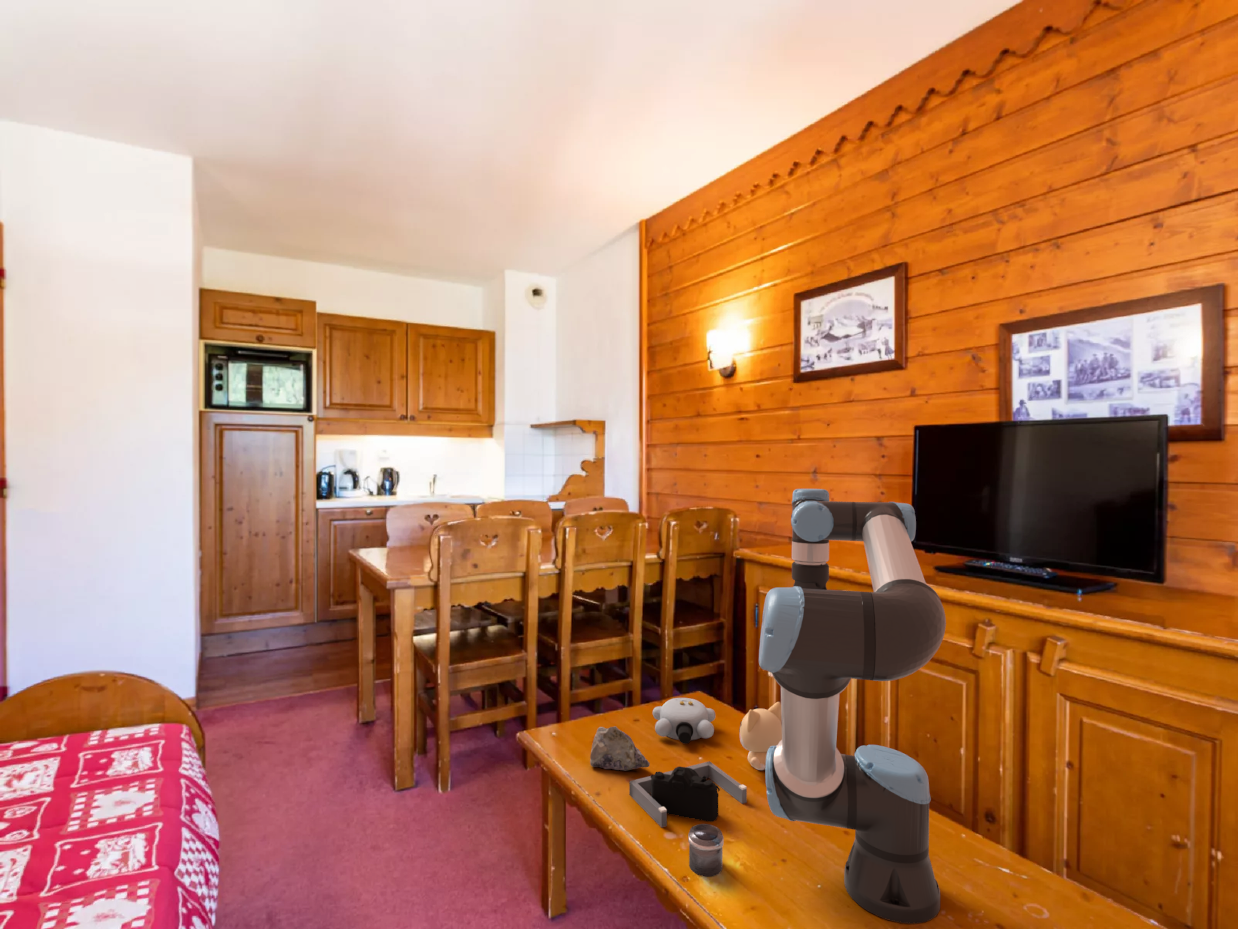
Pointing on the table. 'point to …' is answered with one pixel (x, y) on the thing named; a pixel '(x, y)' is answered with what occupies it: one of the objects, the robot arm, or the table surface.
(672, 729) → the figurine
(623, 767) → the mineral rock
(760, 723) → the kitten
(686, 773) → the film camera
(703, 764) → the bracket
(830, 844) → the table surface
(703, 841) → the lens
